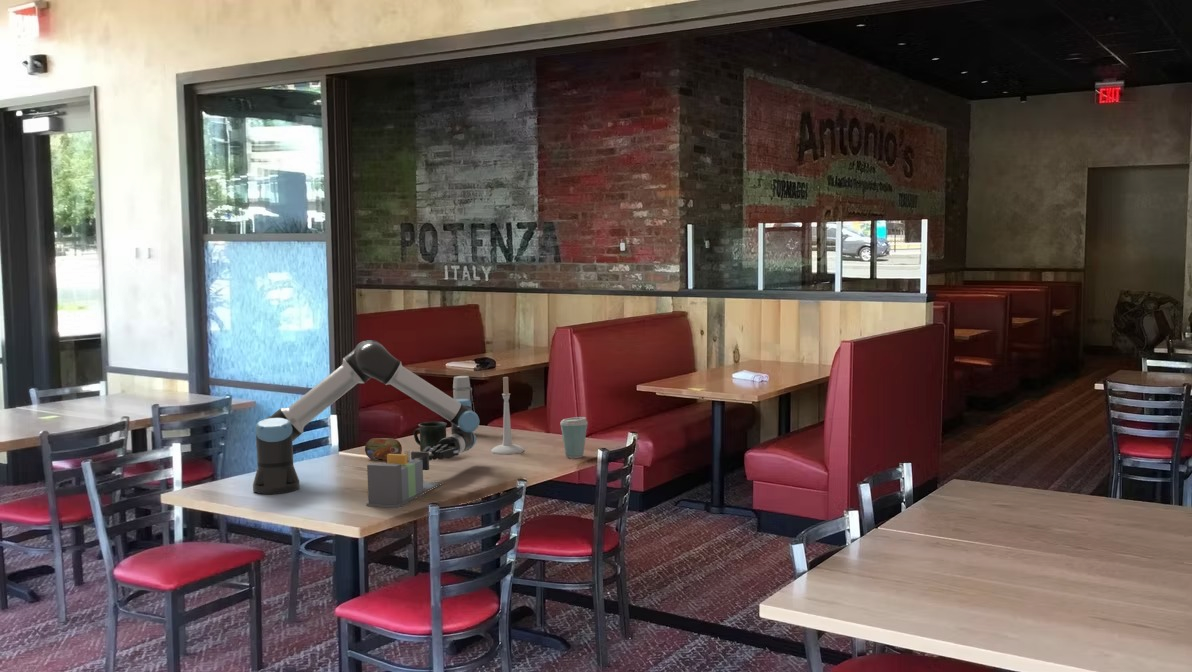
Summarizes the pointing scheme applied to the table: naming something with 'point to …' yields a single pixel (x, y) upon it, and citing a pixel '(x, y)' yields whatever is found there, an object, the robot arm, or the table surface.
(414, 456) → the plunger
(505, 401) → the candlestick
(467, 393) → the water bottle
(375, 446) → the tin
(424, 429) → the mug
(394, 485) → the grey stepped block
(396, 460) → the orange rectangular plank
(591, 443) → the table surface
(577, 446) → the disposable coffee cup
